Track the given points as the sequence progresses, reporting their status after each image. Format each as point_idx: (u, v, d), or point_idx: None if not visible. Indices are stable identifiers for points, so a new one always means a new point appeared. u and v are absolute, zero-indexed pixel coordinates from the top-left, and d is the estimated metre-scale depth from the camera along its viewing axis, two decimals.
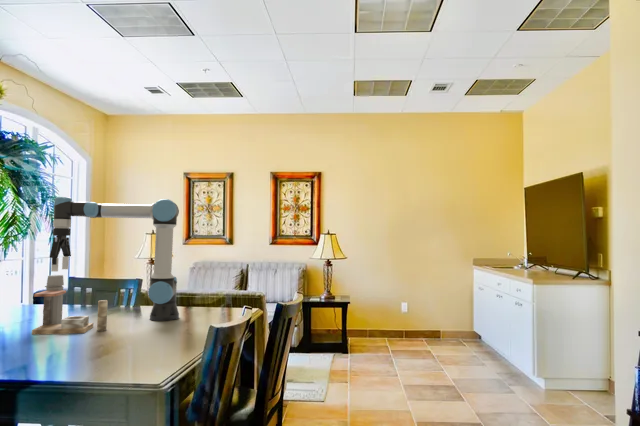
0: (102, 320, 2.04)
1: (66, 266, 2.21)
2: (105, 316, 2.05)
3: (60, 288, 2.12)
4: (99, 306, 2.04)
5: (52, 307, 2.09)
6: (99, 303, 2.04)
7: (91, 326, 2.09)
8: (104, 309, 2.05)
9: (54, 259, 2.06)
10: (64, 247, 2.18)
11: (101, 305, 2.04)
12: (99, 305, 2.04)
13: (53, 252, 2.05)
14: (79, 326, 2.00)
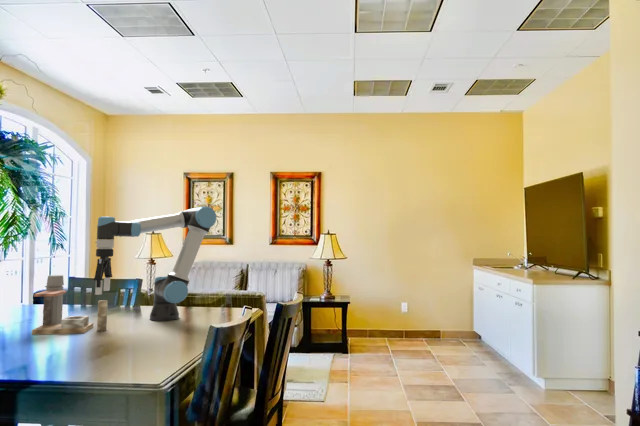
0: (102, 320, 2.04)
1: (108, 287, 2.13)
2: (105, 316, 2.05)
3: (60, 288, 2.12)
4: (99, 306, 2.04)
5: (52, 307, 2.09)
6: (99, 303, 2.04)
7: (91, 326, 2.09)
8: (104, 309, 2.05)
9: (98, 282, 1.98)
10: (106, 268, 2.10)
11: (101, 305, 2.04)
12: (99, 305, 2.04)
13: (98, 274, 1.98)
14: (79, 326, 2.00)
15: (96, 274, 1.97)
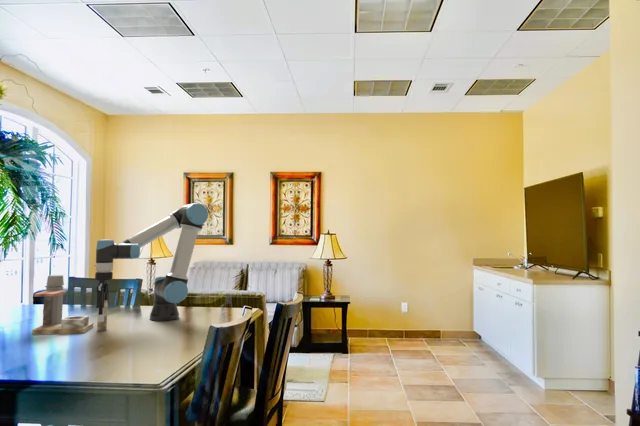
0: None
1: None
2: (105, 316, 2.05)
3: (60, 288, 2.12)
4: None
5: (52, 307, 2.09)
6: None
7: (91, 326, 2.09)
8: None
9: (100, 309, 2.02)
10: (104, 293, 2.08)
11: None
12: None
13: (99, 303, 2.01)
14: (79, 326, 2.00)
15: (98, 302, 2.00)
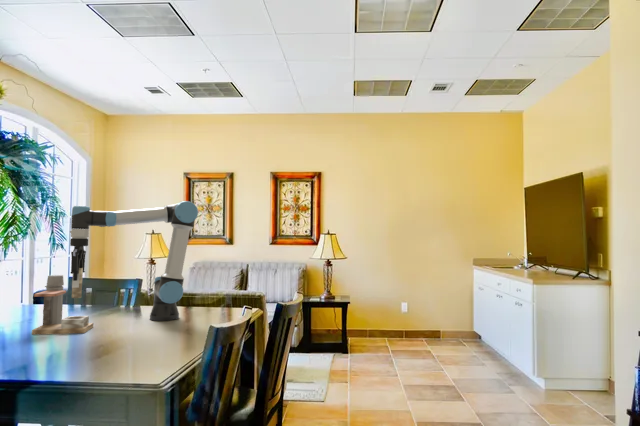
0: None
1: None
2: (80, 283, 2.04)
3: (60, 288, 2.12)
4: None
5: (52, 307, 2.09)
6: None
7: (91, 326, 2.09)
8: (79, 276, 2.04)
9: (75, 275, 2.02)
10: (80, 259, 2.07)
11: None
12: None
13: (74, 268, 2.00)
14: (79, 326, 2.00)
15: (72, 268, 2.00)
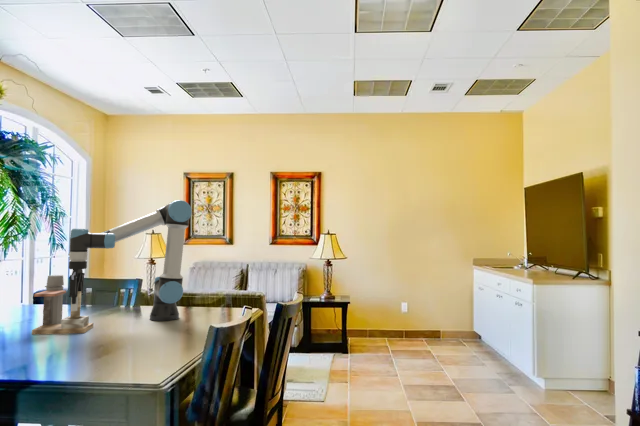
0: (75, 311, 2.02)
1: None
2: (78, 307, 2.04)
3: (60, 288, 2.12)
4: None
5: (52, 307, 2.09)
6: None
7: (91, 326, 2.09)
8: None
9: (74, 298, 2.01)
10: (78, 282, 2.07)
11: None
12: None
13: (72, 292, 1.99)
14: (79, 326, 2.00)
15: (70, 291, 1.99)
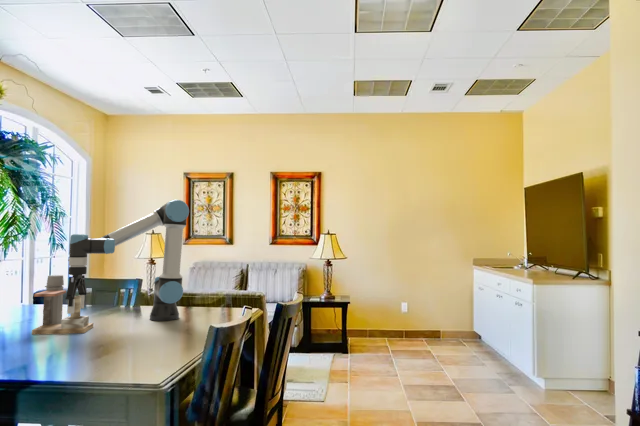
0: (75, 316, 2.02)
1: (82, 305, 2.11)
2: (78, 312, 2.04)
3: (60, 288, 2.12)
4: None
5: (52, 307, 2.09)
6: None
7: (91, 326, 2.09)
8: (77, 305, 2.03)
9: (70, 301, 1.97)
10: (80, 286, 2.08)
11: None
12: None
13: (69, 294, 1.96)
14: (79, 326, 2.00)
15: (68, 293, 1.96)
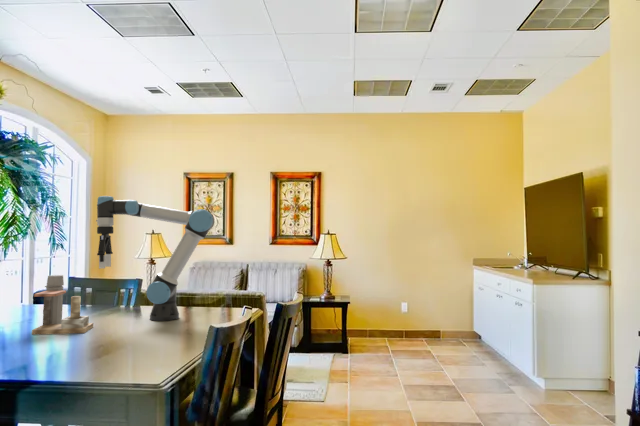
0: (75, 316, 2.02)
1: (109, 263, 2.26)
2: (78, 312, 2.04)
3: (60, 288, 2.12)
4: (72, 302, 2.03)
5: (52, 307, 2.09)
6: (72, 299, 2.03)
7: (91, 326, 2.09)
8: (77, 305, 2.03)
9: (102, 256, 2.12)
10: (107, 245, 2.24)
11: (73, 301, 2.03)
12: (72, 301, 2.03)
13: (101, 249, 2.11)
14: (79, 326, 2.00)
15: (99, 249, 2.11)
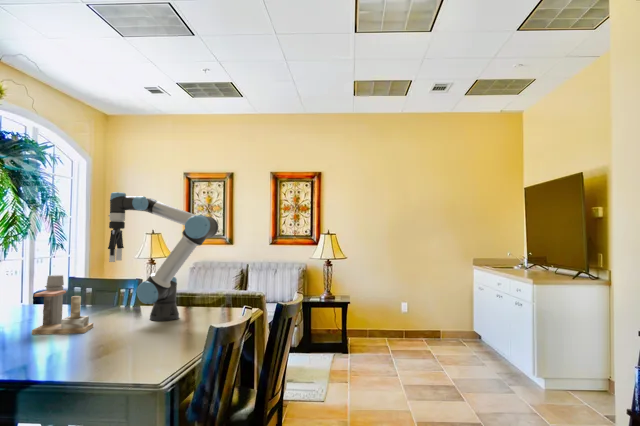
0: (75, 316, 2.02)
1: (120, 257, 2.34)
2: (78, 312, 2.04)
3: (60, 288, 2.12)
4: (72, 302, 2.02)
5: (52, 307, 2.09)
6: (72, 299, 2.03)
7: (91, 326, 2.09)
8: (77, 305, 2.03)
9: (112, 250, 2.20)
10: (118, 239, 2.32)
11: (74, 301, 2.02)
12: (72, 301, 2.02)
13: (111, 244, 2.19)
14: (79, 326, 2.00)
15: (110, 243, 2.19)
